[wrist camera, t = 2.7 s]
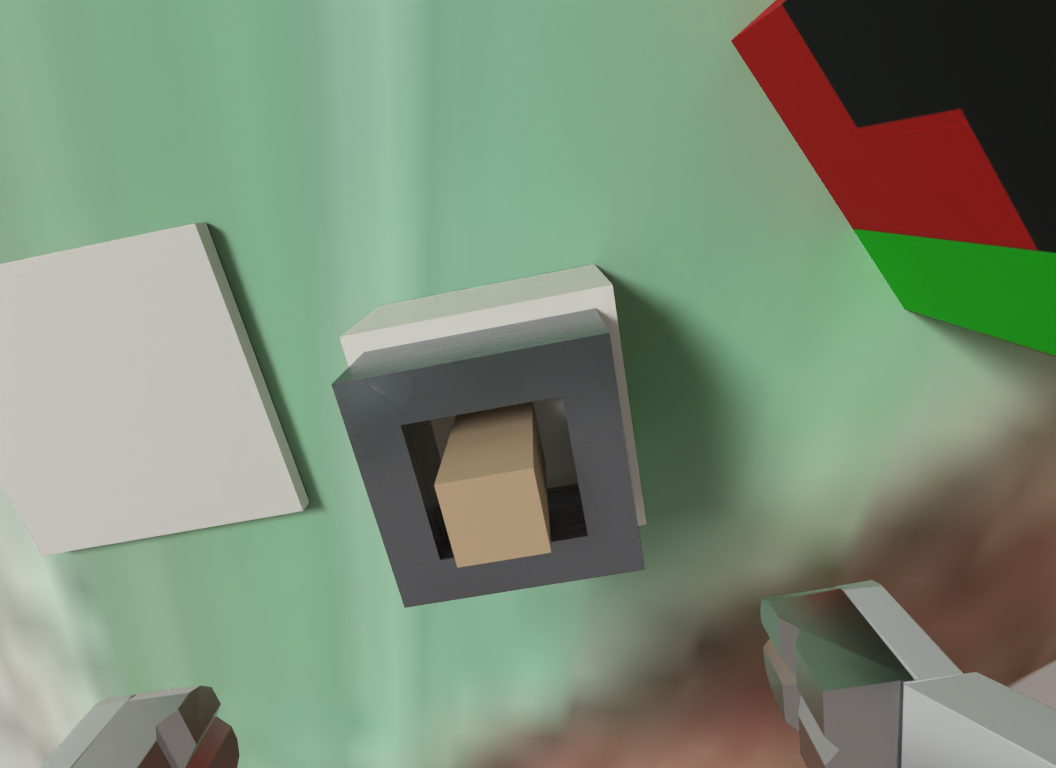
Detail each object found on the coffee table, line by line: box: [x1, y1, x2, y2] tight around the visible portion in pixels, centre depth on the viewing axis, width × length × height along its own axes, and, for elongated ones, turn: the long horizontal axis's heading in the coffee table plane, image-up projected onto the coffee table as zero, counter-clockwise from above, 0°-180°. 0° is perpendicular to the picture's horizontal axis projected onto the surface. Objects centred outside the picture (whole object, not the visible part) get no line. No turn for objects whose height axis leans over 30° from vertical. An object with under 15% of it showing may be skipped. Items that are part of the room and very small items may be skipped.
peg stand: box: [340, 264, 647, 568], centre depth 15 cm, size 7×7×8 cm
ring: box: [332, 308, 644, 607], centre depth 14 cm, size 6×6×2 cm
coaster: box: [0, 222, 309, 556], centre depth 19 cm, size 10×10×1 cm
